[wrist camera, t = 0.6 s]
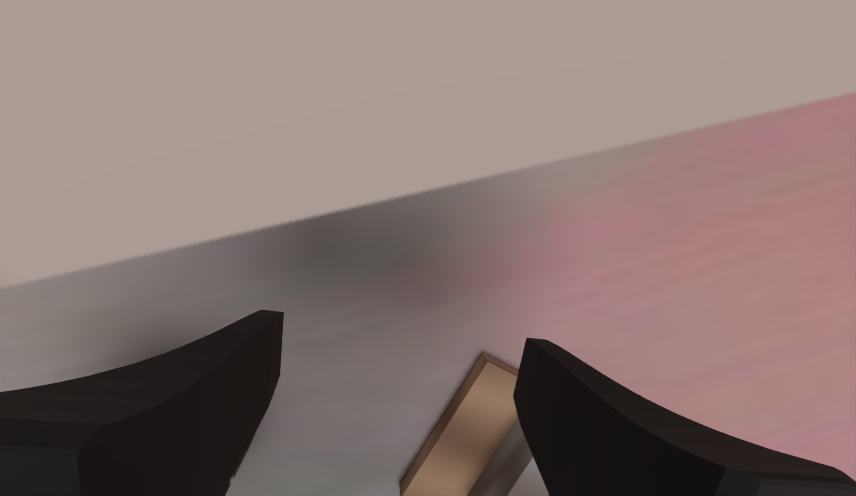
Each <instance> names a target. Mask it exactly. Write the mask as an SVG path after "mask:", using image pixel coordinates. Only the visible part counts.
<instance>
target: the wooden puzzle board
mask: <svg viewBox="0 0 856 496" xmlns="http://www.w3.org/2000/svg"><path fill="white" fill-rule="evenodd" d="M518 372H519V371H518V370H516V369H514V368H512V367H510V366H509V365H507V364H505V363H503V362H501V361H499V360H497V359H495V358H493V357H491V356H489V355H488V354H486V353H484V352H483V353H482V355H481V356H480V358H479V359H478V361H477V363H476V364H475V366H474V367H473V369H472V370H471V372H470V374H469V375H468V377H467V378H466V380H465V382H464V383H463V385H462V386H461V388H460V389H459V391H458V393H457V394H456V396H455V397H454V399H453V401H452V402H451V404H450V405H449V407H448V408H447V410H446V412H445V413H444V415H443V416H442V418H441V419H440V421H439V423H438V424H437V426H436V427H435V429H434V431H433V432H432V434H431V435H430V437H429V438H428V440H427V442H426V443H425V445H424V446H423V448H422V450H421V451H420V453H419V454H418V456H417V457H416V459H415V461H414V462H413V464H412V465H411V467H410V468H409V470H408V472H407V473H406V475H405V476H404V478H403V480H402V481H401V483H400V496H548V495H549V494H548V491H547V489H546V486H545V484H544V482H543V479H542V477H541V474H540V472H539V470H538V467H537V465H536V463H535V460H534V458H533V455H532V453H531V451H530V448H529V446H528V443H527V441H526V438H525V436H524V434H523V431H522V428H521V426H520V422H519V419H518V415H517V411H516V407H515V403H514V398H513V393H514V389H515V385H516V381H517V376H518Z"/></svg>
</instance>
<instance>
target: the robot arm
mask: <svg viewBox="0 0 856 496" xmlns="http://www.w3.org/2000/svg"><path fill="white" fill-rule="evenodd" d="M283 317H284V312H277V311H268V310H260V311H257V312H255V313H253V314H251V315H249V316H247V317H245V318H242V319H240V320H238V321H236V322H234V323H232V324H230V325H228V326H226V327H224V328H222V329H220V330H218V331H216V332H214V333H212V334H210V335H208V336H205V337H203V338H201V339H198V340H196V341H194V342H191V343H189V344H187V345H185V346H182V347H180V348H178V349H175V350H172V351H170V352H167V353H164V354H162V355H159V356H156V357H153V358H150V359H147V360H144V361H141V362H138V363H135V364H131V365H128V366H124V367H120V368H116V369H113V370H109V371H105V372H101V373H98V374H94V375H90V376H86V377H82V378H77V379H72V380H67V381H63V382H58V383H53V384H47V385H42V386H36V387H31V388H25V389H19V390H13V391H5V392H0V496H223V495H224V492H225V490H226V488H227V486H228V484H229V482H230V480H231V478H232V476H233V474H234V472H235V470H236V468H237V466H238V464H239V462H240V460H241V458H242V457H243V455H244V453H245V451H246V449H247V447H248V445H249V443H250V441H251V439H252V438H253V436H254V434H255V432H256V430H257V428H258V426H259V424H260V422H261V420H262V418H263V416H264V414H265V412H266V411H267V409H268V407H269V404H270V401H271V399H272V396H273V393H274V391H275V388H276V385H277V382H278V379H279V376H280V365H281V349H282V333H283ZM513 398H514V403H515V407H516V411H517V415H518V419H519V422H520V426H521V428H522V431H523V434H524V436H525V438H526V441H527V443H528V446H529V448H530V451H531V453H532V455H533V458H534V460H535V463H536V465H537V467H538V470H539V472H540V474H541V477H542V479H543V482H544V484H545V486H546V489H547V491H548V494H549V496H856V481H854V480H853V479H852V478H850V477H849V476H848V475H846V474H845V473H844V472H842V471H840V470H838V469H836V468H834V467H831V466H827V465H824V464H820V463H817V462H813V461H810V460H806V459H803V458H799V457H795V456H792V455H788V454H785V453H781V452H778V451H774V450H771V449H768V448H765V447H762V446H759V445H756V444H753V443H750V442H747V441H744V440H741V439H738V438H735V437H733V436H730V435H727V434H725V433H722V432H719V431H717V430H714V429H712V428H709V427H707V426H704V425H702V424H699V423H697V422H695V421H692V420H690V419H687V418H685V417H683V416H681V415H678V414H676V413H674V412H672V411H670V410H668V409H666V408H664V407H662V406H659V405H657V404H655V403H653V402H651V401H649V400H647V399H645V398H644V397H642V396H640V395H638V394H636V393H634V392H632V391H631V390H629V389H627V388H626V387H624V386H622V385H620V384H619V383H617V382H615V381H613V380H612V379H610V378H609V377H607V376H605V375H604V374H602V373H600V372H599V371H597V370H596V369H594V368H593V367H591V366H589V365H588V364H586V363H585V362H583V361H582V360H580V359H578V358H577V357H575V356H574V355H572V354H571V353H569V352H568V351H566V350H564V349H563V348H561V347H559V346H558V345H556V344H554V343H552V342H550V341H548V340H544V339H535V338H527V339H526V343H525V347H524V351H523V355H522V360H521V364H520V368H519V372H518V376H517V381H516V385H515V389H514V393H513Z"/></svg>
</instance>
